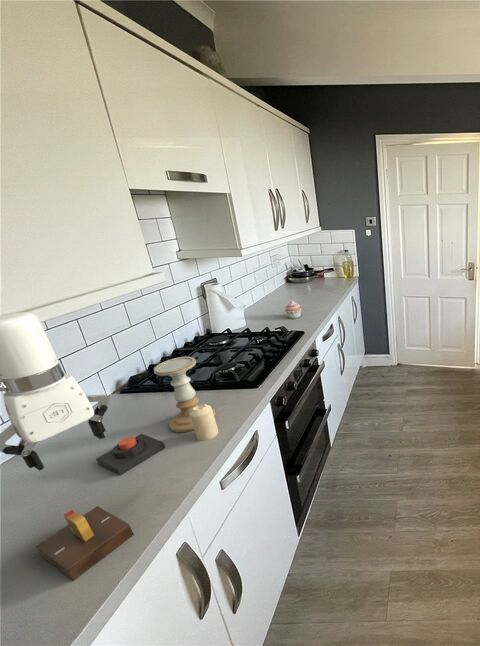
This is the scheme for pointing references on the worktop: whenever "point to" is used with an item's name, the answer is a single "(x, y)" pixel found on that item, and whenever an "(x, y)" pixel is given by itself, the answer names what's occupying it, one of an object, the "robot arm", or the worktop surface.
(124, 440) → the release button
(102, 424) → the robot arm
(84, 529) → the lock knob
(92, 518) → the brown wooden base
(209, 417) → the candle
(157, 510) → the worktop surface
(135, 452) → the block
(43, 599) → the worktop surface
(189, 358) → the candle holder
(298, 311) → the cupcake
